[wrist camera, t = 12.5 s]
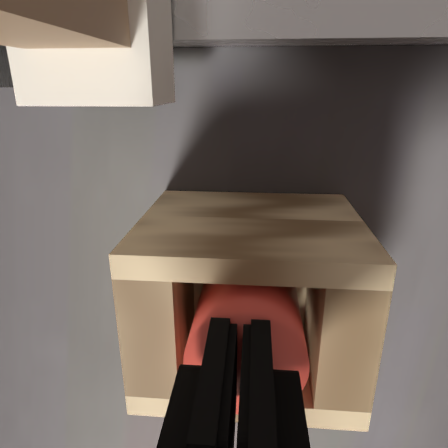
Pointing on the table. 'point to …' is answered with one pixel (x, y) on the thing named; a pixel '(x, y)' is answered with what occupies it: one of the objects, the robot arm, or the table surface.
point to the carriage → (89, 52)
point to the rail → (299, 24)
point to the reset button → (242, 314)
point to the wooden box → (259, 276)
